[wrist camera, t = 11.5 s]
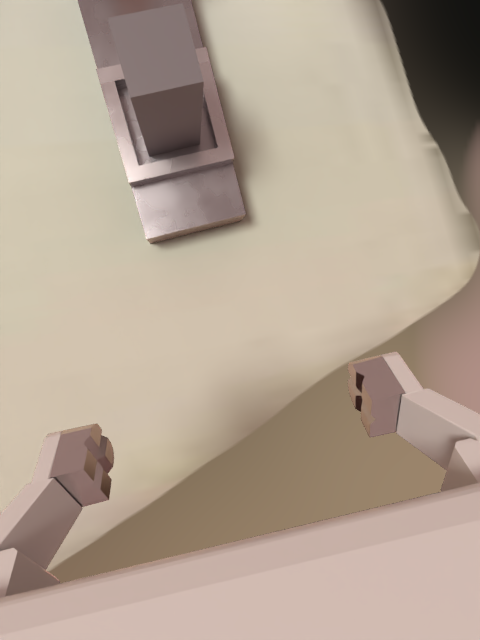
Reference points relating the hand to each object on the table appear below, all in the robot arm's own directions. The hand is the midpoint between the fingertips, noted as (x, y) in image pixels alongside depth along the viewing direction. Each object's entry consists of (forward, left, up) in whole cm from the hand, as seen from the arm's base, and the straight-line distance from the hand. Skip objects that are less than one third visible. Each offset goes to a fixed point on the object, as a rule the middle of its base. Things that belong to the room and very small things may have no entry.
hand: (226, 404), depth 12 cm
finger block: (+2, +16, -19) cm, 25 cm away
